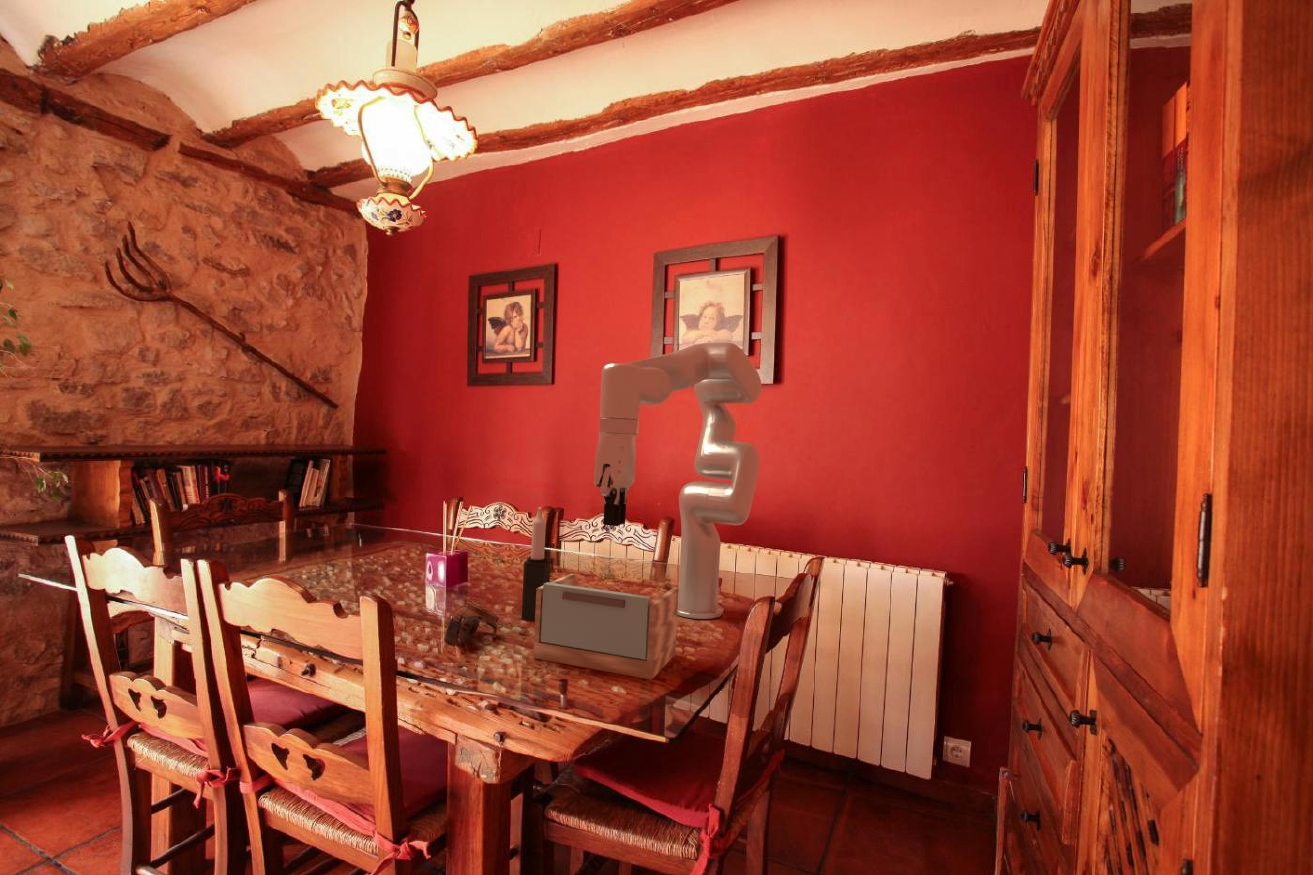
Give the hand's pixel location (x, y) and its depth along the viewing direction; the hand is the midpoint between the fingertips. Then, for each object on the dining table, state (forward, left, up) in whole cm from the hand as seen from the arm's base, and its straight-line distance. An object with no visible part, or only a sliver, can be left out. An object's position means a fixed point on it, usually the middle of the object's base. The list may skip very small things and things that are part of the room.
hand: (614, 523), depth 120 cm
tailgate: (+8, 0, -22) cm, 24 cm away
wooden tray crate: (+1, 0, -25) cm, 25 cm away
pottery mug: (+5, -28, -25) cm, 38 cm away
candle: (-14, -24, -25) cm, 38 cm away
